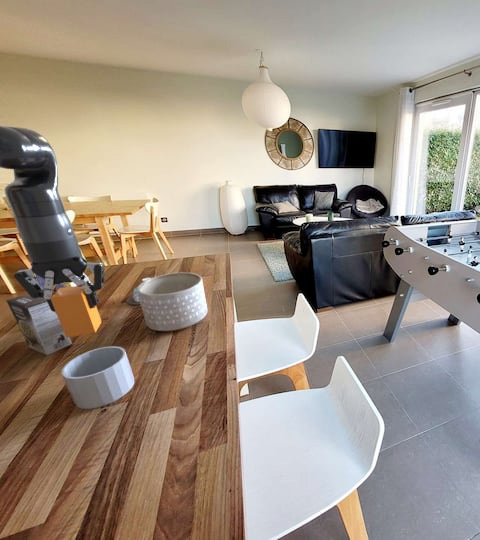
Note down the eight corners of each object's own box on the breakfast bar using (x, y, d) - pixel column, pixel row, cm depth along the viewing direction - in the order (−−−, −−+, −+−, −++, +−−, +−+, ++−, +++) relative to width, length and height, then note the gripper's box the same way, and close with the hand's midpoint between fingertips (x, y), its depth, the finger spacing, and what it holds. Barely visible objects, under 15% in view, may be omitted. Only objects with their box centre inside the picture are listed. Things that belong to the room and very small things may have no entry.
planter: (211, 325, 99) (204, 288, 94) (145, 340, 90) (134, 300, 85) (205, 302, 114) (199, 269, 109) (148, 313, 105) (139, 277, 99)
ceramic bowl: (66, 415, 64) (52, 384, 61) (84, 381, 74) (72, 353, 70) (129, 399, 69) (119, 369, 66) (138, 369, 78) (129, 342, 75)
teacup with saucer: (163, 300, 114) (159, 282, 111) (125, 308, 107) (119, 289, 104) (162, 289, 123) (158, 272, 120) (127, 295, 116) (122, 277, 114)
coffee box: (27, 348, 85) (4, 300, 78) (55, 336, 90) (35, 290, 84) (46, 356, 82) (23, 306, 76) (73, 343, 87) (54, 296, 81)
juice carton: (66, 337, 63) (49, 297, 59) (74, 326, 67) (59, 288, 63) (95, 332, 65) (81, 293, 62) (101, 321, 69) (88, 284, 66)
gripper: (100, 229, 64) (120, 296, 70) (8, 234, 58) (40, 308, 64) (89, 237, 58) (113, 310, 64) (-14, 244, 52) (23, 325, 58)
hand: (76, 309), depth 64 cm, fingers closed on juice carton, 5 cm apart
